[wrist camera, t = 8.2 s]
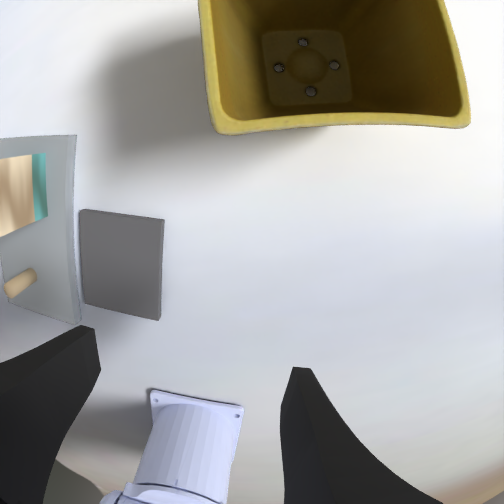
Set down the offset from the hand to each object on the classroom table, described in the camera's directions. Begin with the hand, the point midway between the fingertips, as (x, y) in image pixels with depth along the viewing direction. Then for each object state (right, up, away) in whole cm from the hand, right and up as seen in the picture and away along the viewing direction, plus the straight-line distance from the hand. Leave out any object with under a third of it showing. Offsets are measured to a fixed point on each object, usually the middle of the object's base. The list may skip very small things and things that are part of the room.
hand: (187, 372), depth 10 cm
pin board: (-14, +6, +9) cm, 18 cm away
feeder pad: (-7, +3, +10) cm, 12 cm away
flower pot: (+5, +15, +5) cm, 17 cm away
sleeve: (-14, +9, +7) cm, 18 cm away
